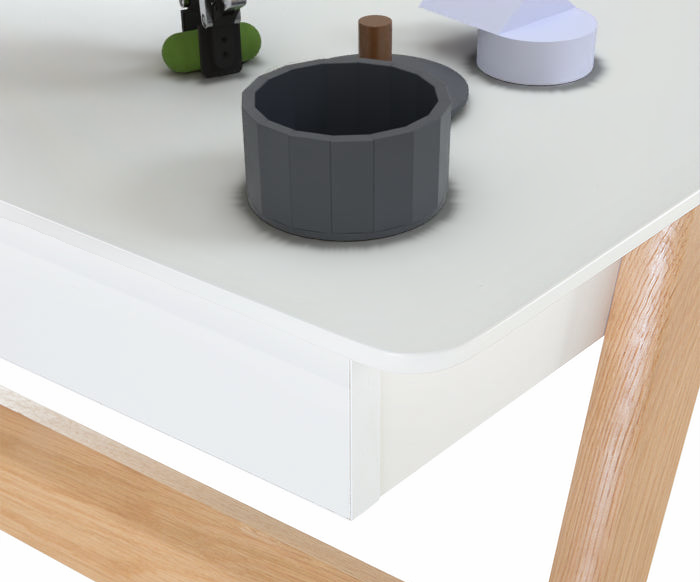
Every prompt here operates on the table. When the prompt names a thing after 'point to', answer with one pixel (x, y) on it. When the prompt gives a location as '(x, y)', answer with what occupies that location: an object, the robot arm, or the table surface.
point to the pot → (346, 147)
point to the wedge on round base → (527, 38)
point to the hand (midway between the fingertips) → (213, 63)
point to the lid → (405, 57)
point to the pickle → (184, 48)
